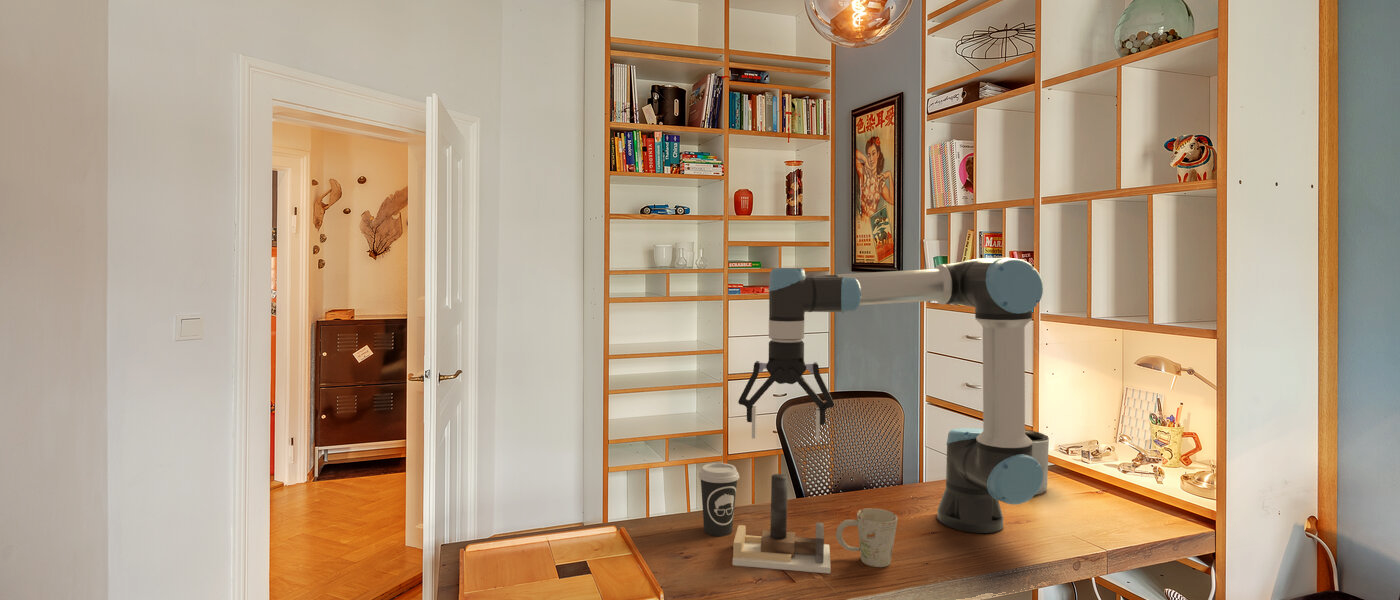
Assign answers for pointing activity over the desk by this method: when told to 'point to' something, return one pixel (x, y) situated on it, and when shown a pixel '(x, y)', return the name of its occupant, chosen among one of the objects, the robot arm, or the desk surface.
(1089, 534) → the desk surface
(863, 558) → the mug
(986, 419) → the robot arm
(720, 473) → the coffee cup
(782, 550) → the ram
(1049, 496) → the desk surface
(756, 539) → the white slotted peg base
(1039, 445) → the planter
